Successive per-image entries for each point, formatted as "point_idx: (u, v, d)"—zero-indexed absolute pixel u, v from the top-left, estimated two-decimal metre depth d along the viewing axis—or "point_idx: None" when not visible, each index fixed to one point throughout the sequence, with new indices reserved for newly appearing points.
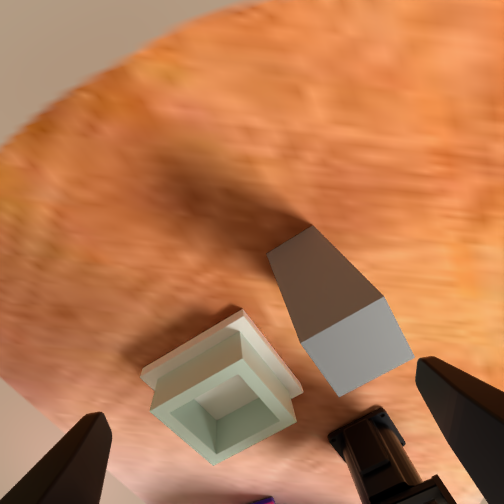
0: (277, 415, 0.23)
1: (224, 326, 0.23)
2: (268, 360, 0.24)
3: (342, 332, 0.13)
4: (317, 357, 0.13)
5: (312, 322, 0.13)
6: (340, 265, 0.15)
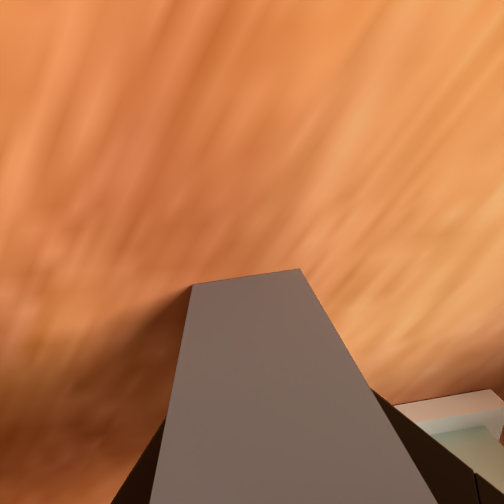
0: None
1: None
2: None
3: None
4: None
5: None
6: None
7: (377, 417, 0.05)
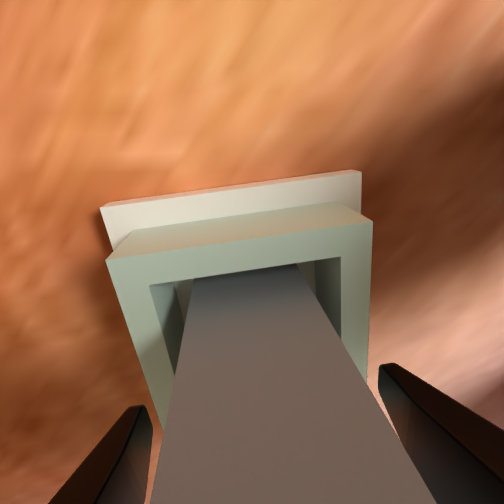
0: (321, 255, 0.09)
1: None
2: (234, 208, 0.11)
3: None
4: None
5: None
6: None
7: (344, 360, 0.06)
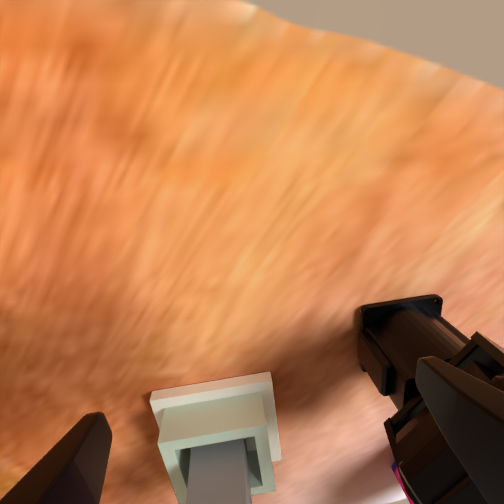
0: (245, 436, 0.22)
1: None
2: (212, 397, 0.24)
3: None
4: None
5: None
6: None
7: (243, 496, 0.19)
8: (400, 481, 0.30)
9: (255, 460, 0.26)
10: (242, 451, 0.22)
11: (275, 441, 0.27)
